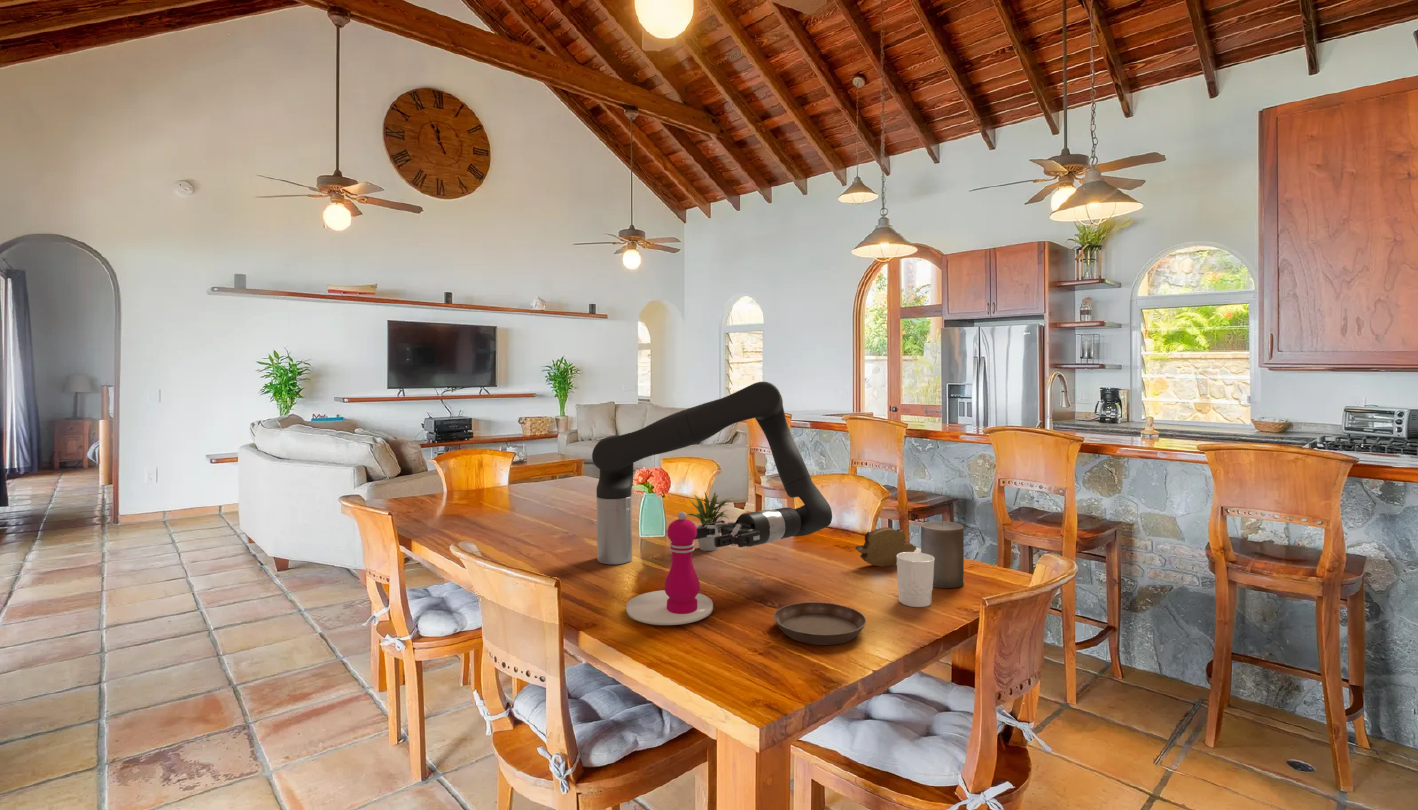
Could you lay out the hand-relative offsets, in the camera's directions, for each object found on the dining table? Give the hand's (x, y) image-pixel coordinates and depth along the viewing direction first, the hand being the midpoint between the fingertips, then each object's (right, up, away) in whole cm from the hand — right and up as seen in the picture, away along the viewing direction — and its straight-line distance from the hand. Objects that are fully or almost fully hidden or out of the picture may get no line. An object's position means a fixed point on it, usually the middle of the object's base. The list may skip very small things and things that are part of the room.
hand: (703, 538), depth 144 cm
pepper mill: (-4, -13, -7) cm, 16 cm away
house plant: (+2, -12, +44) cm, 46 cm away
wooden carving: (+47, -13, +29) cm, 56 cm away
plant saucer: (+23, -16, -14) cm, 31 cm away
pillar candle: (+56, -14, +15) cm, 60 cm away
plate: (-7, -15, -4) cm, 17 cm away
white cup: (+46, -14, +1) cm, 48 cm away
